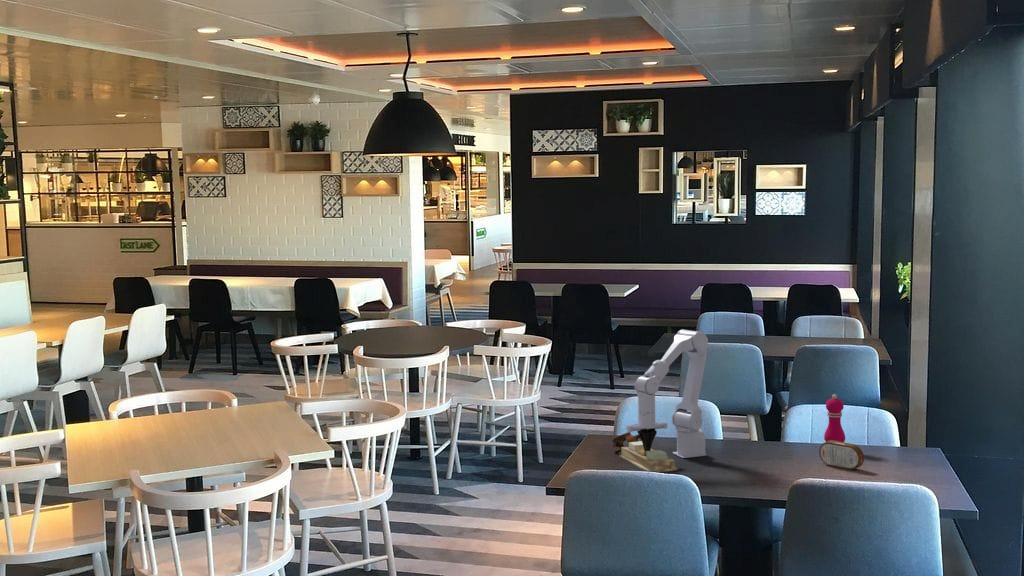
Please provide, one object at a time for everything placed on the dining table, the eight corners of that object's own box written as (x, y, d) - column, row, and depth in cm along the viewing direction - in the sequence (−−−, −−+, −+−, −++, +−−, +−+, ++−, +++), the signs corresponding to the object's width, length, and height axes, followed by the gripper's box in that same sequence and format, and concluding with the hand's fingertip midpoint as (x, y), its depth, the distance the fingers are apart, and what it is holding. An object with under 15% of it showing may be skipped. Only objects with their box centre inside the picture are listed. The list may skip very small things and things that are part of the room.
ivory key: (641, 448, 351) (641, 441, 351) (648, 451, 346) (648, 444, 346) (628, 449, 349) (628, 442, 349) (635, 452, 345) (634, 445, 344)
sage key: (659, 456, 338) (659, 449, 337) (666, 460, 333) (666, 452, 333) (646, 458, 336) (646, 451, 336) (653, 461, 331) (653, 454, 331)
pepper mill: (822, 451, 353) (822, 395, 351) (826, 446, 359) (826, 391, 358) (843, 453, 350) (843, 396, 348) (847, 448, 356) (847, 393, 354)
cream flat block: (650, 455, 344) (650, 448, 344) (657, 458, 340) (657, 451, 339) (637, 456, 343) (637, 449, 343) (644, 460, 338) (643, 452, 338)
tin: (864, 470, 326) (864, 444, 325) (859, 472, 324) (859, 446, 323) (822, 462, 337) (822, 438, 336) (817, 464, 335) (817, 439, 334)
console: (645, 454, 354) (645, 444, 354) (677, 470, 331) (677, 460, 331) (619, 457, 351) (619, 447, 351) (649, 473, 328) (649, 463, 328)
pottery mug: (625, 458, 351) (614, 437, 354) (616, 464, 360) (606, 443, 362) (653, 446, 356) (643, 425, 358) (643, 452, 364) (633, 431, 366)
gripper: (632, 415, 334) (632, 455, 335) (671, 411, 338) (671, 451, 339) (623, 411, 341) (624, 450, 342) (661, 408, 345) (662, 446, 346)
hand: (647, 450), depth 341 cm, fingers closed, pressing on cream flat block
